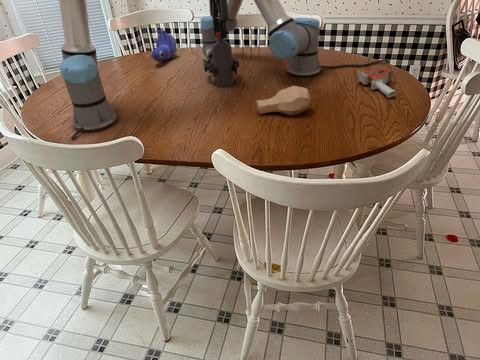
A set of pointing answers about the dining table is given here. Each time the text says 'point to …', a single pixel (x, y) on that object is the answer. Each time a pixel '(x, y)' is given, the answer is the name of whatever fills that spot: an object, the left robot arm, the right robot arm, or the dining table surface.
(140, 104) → the dining table surface
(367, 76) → the tape dispenser
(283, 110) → the squash
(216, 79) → the bottle
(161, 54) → the toy
